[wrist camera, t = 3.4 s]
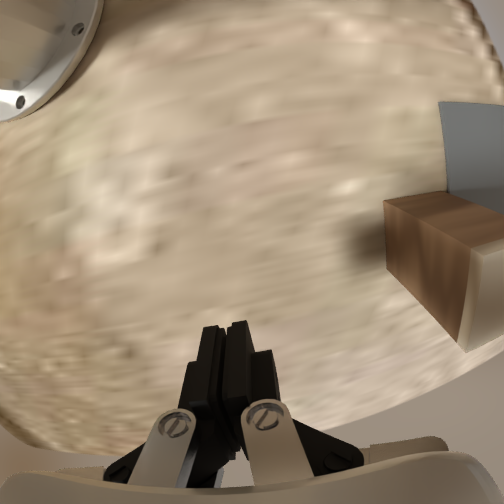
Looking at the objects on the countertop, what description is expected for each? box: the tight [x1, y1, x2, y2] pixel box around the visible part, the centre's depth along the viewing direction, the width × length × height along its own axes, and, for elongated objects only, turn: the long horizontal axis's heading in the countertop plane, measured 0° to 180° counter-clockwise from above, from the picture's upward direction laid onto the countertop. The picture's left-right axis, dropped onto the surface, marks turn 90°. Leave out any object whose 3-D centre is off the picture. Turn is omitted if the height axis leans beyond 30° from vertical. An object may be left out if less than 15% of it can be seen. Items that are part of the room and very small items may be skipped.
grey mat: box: [438, 102, 504, 215], centre depth 17 cm, size 16×12×1 cm
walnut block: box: [383, 191, 504, 353], centre depth 13 cm, size 4×4×9 cm
